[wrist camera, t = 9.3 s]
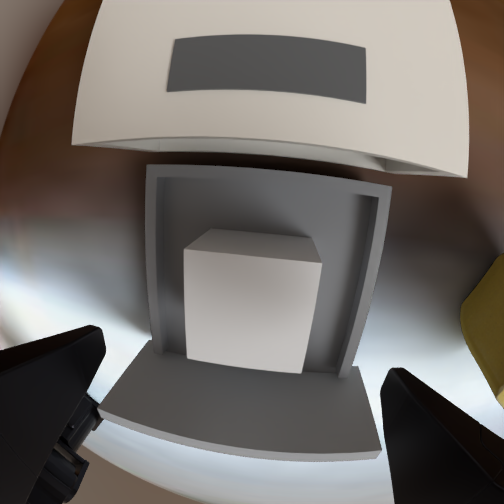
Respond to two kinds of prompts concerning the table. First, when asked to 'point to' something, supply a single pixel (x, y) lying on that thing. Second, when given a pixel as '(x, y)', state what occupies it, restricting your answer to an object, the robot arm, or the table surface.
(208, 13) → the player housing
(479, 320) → the flower pot
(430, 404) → the robot arm
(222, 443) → the grey sliding drawer
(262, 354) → the block
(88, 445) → the table surface
